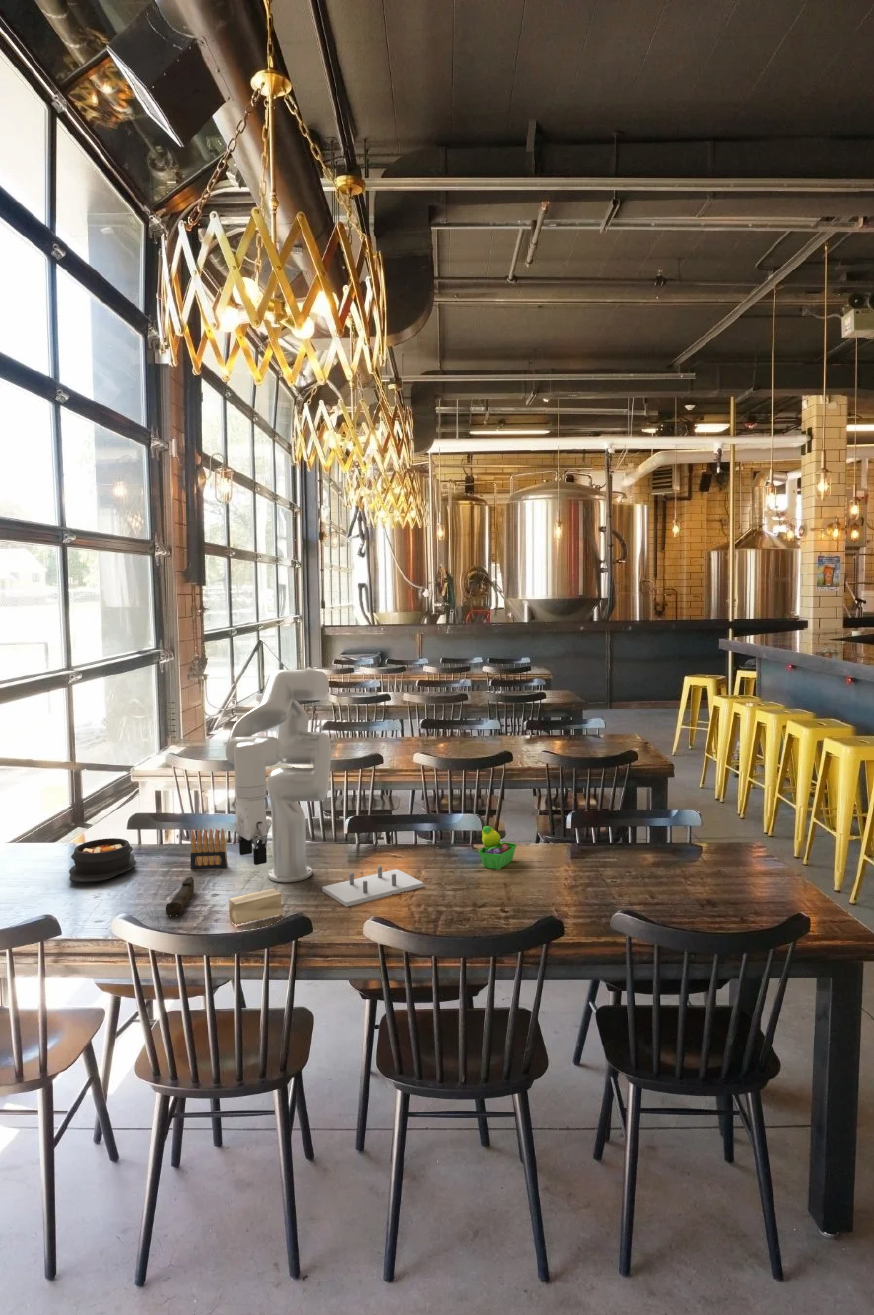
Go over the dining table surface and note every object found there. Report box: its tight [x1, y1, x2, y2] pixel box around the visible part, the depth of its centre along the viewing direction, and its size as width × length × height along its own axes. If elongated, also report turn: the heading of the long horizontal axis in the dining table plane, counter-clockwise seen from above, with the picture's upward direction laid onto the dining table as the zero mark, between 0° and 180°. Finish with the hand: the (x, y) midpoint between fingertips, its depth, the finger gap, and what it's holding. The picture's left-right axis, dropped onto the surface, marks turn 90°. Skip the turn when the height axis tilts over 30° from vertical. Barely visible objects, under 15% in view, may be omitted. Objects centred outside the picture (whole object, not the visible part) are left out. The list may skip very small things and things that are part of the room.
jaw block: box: [228, 888, 283, 925], centre depth 205 cm, size 4×12×6 cm, turn 124°
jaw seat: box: [321, 865, 424, 908], centre depth 224 cm, size 14×24×4 cm, turn 124°
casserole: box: [68, 837, 137, 883], centre depth 241 cm, size 25×19×8 cm
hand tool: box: [165, 876, 195, 917], centre depth 217 cm, size 19×4×5 cm, turn 0°
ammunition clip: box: [190, 828, 228, 871], centre depth 244 cm, size 11×2×12 cm, turn 93°
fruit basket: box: [477, 825, 517, 870], centre depth 243 cm, size 11×9×11 cm
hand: (252, 858), depth 204 cm, fingers open, 9 cm apart
